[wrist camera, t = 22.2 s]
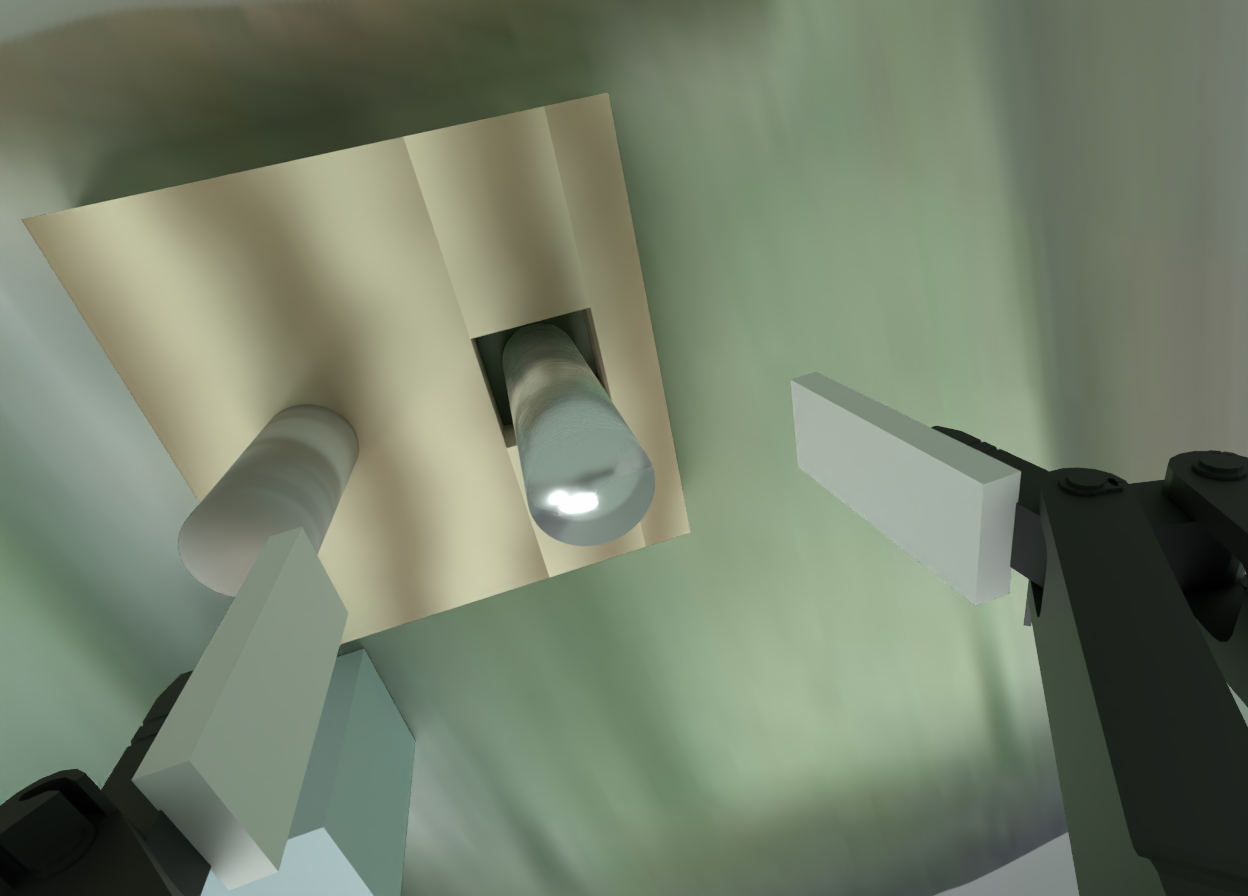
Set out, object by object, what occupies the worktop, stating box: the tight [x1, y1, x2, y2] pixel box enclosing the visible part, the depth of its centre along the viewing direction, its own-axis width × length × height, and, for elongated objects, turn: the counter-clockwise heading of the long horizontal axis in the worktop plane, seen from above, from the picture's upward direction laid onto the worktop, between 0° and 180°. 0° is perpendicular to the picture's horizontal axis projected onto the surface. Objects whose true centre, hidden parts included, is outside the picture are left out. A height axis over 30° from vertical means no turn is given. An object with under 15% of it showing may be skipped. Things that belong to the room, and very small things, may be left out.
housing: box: [201, 649, 416, 896], centre depth 26 cm, size 7×7×9 cm
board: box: [21, 92, 690, 644], centre depth 20 cm, size 18×18×10 cm
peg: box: [502, 323, 655, 546], centre depth 20 cm, size 3×3×12 cm
